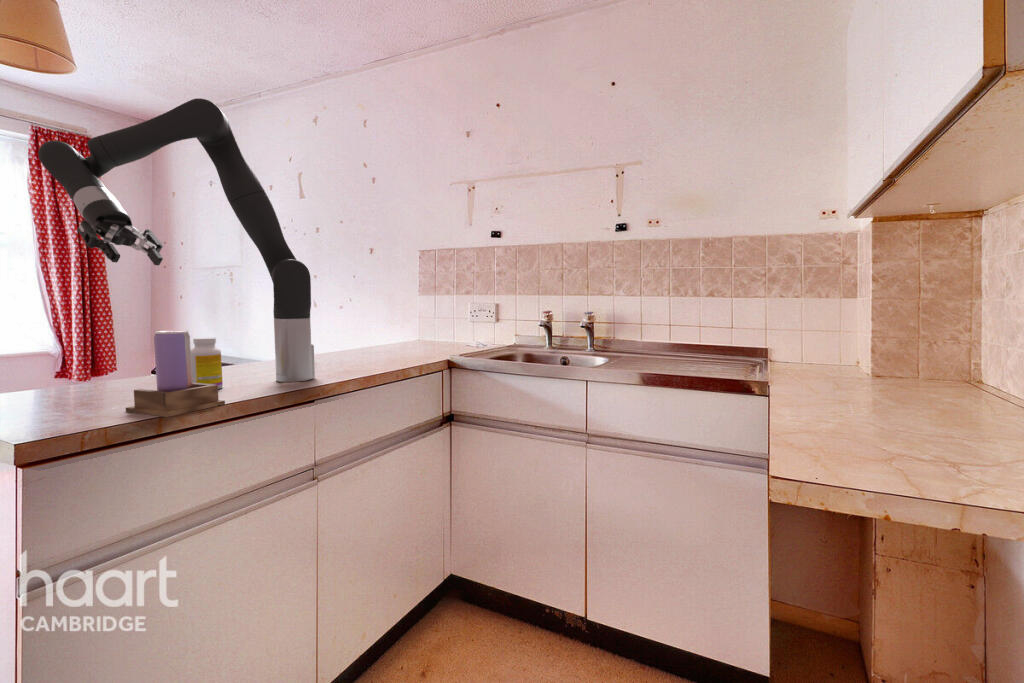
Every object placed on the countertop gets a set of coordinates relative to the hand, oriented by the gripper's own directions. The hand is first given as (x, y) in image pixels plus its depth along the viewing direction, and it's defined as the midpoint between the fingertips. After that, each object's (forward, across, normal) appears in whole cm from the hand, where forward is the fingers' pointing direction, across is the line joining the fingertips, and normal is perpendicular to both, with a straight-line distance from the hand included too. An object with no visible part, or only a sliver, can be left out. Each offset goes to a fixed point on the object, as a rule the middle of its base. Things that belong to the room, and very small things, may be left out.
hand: (138, 261), depth 105 cm
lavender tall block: (+32, -4, +10) cm, 34 cm away
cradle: (+33, -4, +11) cm, 35 cm away
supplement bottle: (+23, +13, +21) cm, 34 cm away
